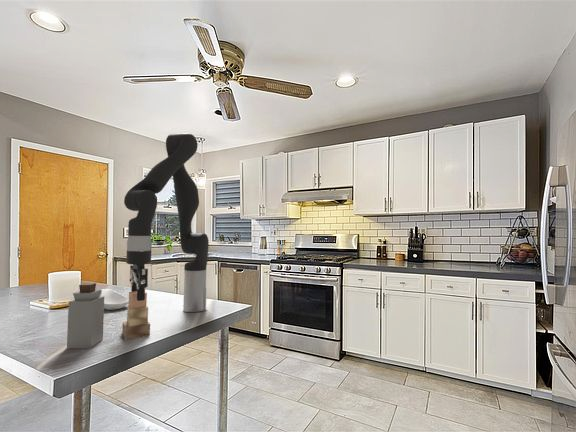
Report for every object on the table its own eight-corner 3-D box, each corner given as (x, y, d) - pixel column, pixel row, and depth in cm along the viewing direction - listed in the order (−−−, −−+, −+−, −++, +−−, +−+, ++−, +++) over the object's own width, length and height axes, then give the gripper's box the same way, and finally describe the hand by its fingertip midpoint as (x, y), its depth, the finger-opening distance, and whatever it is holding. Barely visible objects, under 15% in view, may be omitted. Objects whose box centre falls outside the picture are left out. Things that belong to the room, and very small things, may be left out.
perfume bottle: (80, 340, 97) (82, 282, 98) (102, 339, 98) (104, 282, 98) (66, 348, 90) (69, 286, 91) (91, 347, 91) (93, 285, 92)
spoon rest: (134, 308, 136) (134, 292, 136) (105, 314, 127) (105, 296, 127) (112, 300, 151) (112, 285, 152) (84, 304, 142) (85, 288, 142)
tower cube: (144, 319, 107) (145, 303, 107) (147, 323, 102) (148, 307, 102) (126, 322, 103) (127, 305, 104) (129, 326, 99) (129, 309, 99)
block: (142, 303, 106) (143, 290, 107) (146, 306, 103) (146, 292, 103) (128, 305, 104) (128, 292, 104) (131, 308, 100) (132, 294, 100)
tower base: (144, 330, 108) (145, 318, 108) (149, 336, 102) (150, 323, 102) (122, 334, 103) (122, 322, 104) (126, 340, 98) (126, 327, 98)
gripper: (122, 248, 107) (121, 295, 107) (131, 251, 96) (129, 303, 95) (145, 247, 112) (144, 293, 111) (156, 250, 101) (155, 300, 100)
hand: (137, 298), depth 103 cm, fingers open, 8 cm apart
